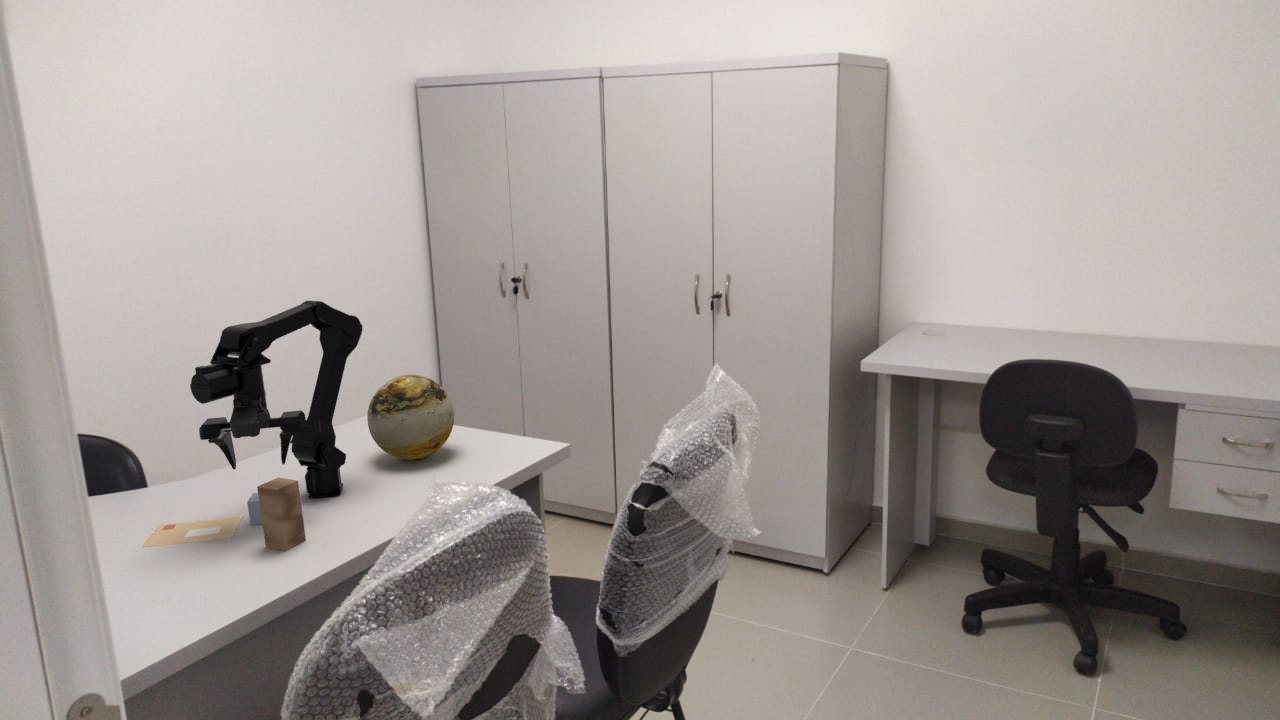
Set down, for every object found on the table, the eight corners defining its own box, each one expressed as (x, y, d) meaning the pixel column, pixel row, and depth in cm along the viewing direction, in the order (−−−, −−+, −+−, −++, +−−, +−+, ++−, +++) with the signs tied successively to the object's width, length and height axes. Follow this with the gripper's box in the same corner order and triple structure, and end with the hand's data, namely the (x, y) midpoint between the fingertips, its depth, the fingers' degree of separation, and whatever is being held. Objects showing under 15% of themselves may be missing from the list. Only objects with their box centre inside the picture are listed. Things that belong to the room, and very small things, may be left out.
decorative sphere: (356, 470, 211) (346, 386, 207) (396, 442, 230) (388, 365, 226) (436, 473, 207) (427, 387, 202) (470, 445, 226) (463, 366, 221)
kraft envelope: (243, 516, 187) (243, 515, 187) (230, 538, 176) (230, 537, 176) (158, 525, 184) (158, 524, 184) (140, 548, 173) (140, 547, 173)
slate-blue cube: (282, 513, 188) (278, 490, 187) (277, 523, 183) (273, 499, 182) (256, 516, 187) (252, 493, 186) (250, 525, 182) (247, 502, 181)
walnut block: (286, 536, 176) (278, 477, 173) (305, 540, 174) (297, 480, 171) (265, 547, 171) (257, 486, 169) (285, 551, 169) (277, 489, 167)
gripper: (185, 405, 169) (198, 485, 173) (292, 396, 173) (302, 475, 176) (201, 390, 180) (213, 466, 184) (301, 382, 183) (310, 456, 187)
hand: (259, 466), depth 182 cm, fingers open, 9 cm apart
